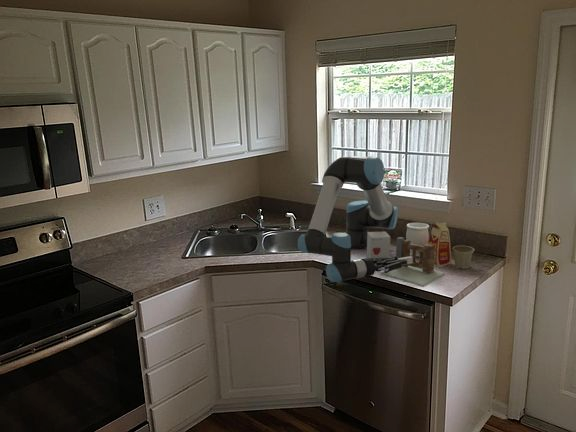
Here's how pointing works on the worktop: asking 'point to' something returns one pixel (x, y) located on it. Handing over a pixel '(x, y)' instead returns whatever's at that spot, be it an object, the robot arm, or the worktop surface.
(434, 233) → the milk carton
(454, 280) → the worktop surface
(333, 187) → the robot arm
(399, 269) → the gate frame
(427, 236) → the jar
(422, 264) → the gate
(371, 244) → the supplement box
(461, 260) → the flower pot
